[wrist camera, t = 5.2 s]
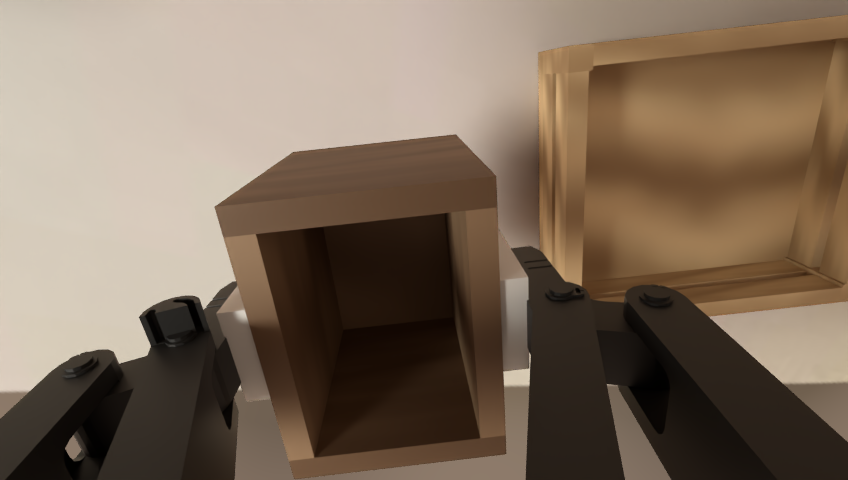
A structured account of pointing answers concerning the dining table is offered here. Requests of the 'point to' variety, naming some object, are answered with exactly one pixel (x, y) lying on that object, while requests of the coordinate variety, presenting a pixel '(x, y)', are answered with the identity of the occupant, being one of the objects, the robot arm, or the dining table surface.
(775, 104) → the oak crate
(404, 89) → the dining table surface
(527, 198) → the dining table surface
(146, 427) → the robot arm
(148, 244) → the dining table surface
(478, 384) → the walnut crate
